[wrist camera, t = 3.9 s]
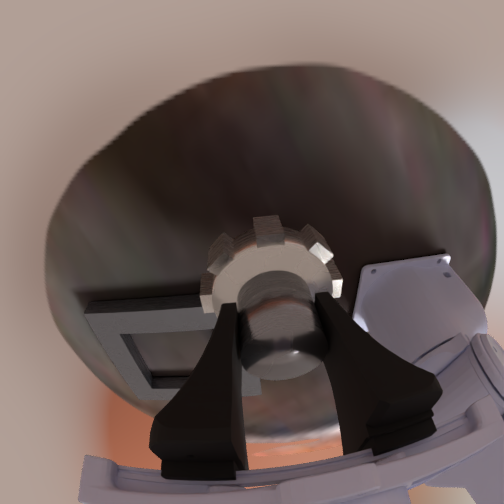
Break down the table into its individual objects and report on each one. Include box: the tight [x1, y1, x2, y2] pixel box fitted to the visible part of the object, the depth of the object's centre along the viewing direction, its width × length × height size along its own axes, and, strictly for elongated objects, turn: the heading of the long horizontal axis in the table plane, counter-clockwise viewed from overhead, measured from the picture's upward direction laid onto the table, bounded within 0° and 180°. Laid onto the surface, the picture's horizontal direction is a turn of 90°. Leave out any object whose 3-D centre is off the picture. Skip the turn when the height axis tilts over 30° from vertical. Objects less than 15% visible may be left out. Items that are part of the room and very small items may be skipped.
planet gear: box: [200, 215, 343, 380], centre depth 14 cm, size 7×7×6 cm
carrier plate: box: [84, 294, 262, 400], centre depth 26 cm, size 14×14×2 cm
